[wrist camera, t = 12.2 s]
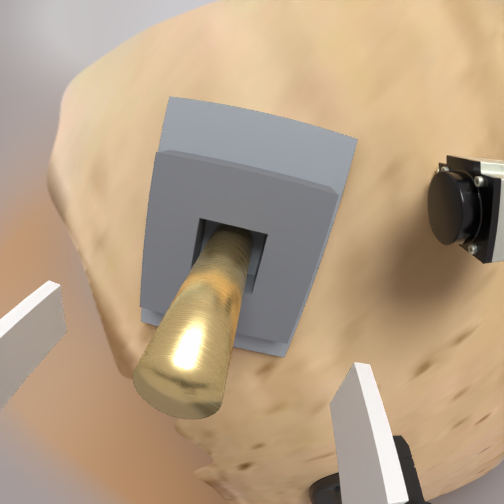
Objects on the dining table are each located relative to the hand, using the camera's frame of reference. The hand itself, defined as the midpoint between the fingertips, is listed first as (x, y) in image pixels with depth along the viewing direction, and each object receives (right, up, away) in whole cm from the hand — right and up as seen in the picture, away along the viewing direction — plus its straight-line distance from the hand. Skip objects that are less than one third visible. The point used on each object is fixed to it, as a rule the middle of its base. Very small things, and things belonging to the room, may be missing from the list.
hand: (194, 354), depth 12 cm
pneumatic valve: (+20, +11, +10) cm, 24 cm away
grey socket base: (+1, +5, +13) cm, 14 cm away
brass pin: (+1, +5, +11) cm, 13 cm away
